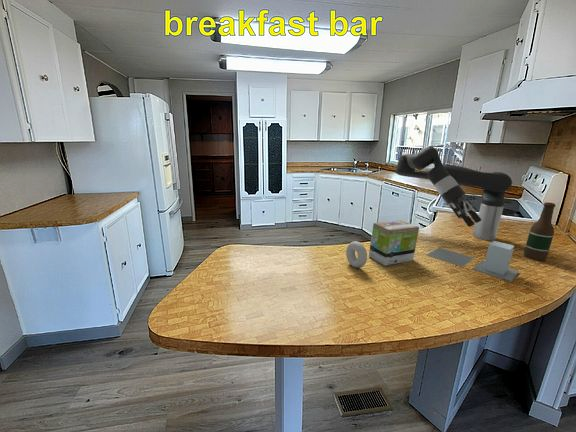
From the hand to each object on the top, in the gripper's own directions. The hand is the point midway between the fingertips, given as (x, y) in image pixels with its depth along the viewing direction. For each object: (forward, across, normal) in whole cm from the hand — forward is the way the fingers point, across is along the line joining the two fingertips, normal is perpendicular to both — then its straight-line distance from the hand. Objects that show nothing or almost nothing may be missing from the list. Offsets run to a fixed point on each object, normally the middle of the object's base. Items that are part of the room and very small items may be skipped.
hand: (475, 223), depth 110 cm
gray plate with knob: (+18, 0, -5) cm, 19 cm away
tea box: (-3, +21, -27) cm, 34 cm away
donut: (-7, +40, -30) cm, 50 cm away
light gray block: (+18, 0, -5) cm, 18 cm away
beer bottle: (+24, -31, 0) cm, 39 cm away
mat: (+7, 0, -16) cm, 18 cm away
